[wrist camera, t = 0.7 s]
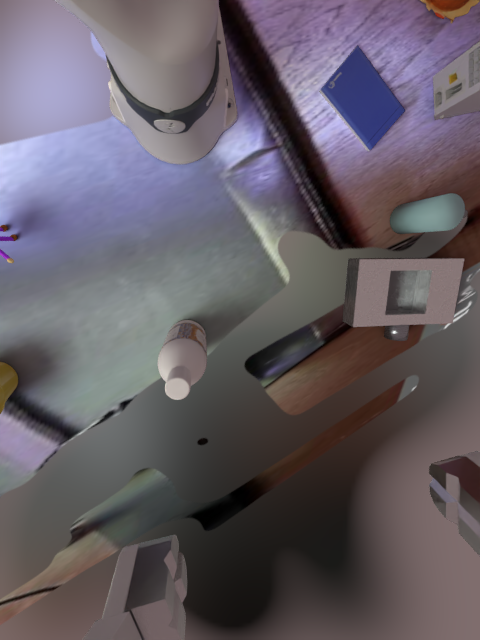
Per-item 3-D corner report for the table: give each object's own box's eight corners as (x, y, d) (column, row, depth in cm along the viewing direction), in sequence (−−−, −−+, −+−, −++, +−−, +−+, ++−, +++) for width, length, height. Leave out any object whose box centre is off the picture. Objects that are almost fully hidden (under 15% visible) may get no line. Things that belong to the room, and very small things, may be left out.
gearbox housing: (348, 258, 52) (360, 259, 48) (446, 257, 55) (465, 258, 50) (341, 336, 56) (352, 342, 52) (433, 332, 58) (450, 338, 54)
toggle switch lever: (391, 203, 51) (435, 192, 41) (426, 204, 52) (477, 193, 42) (388, 233, 52) (430, 230, 42) (421, 234, 53) (470, 230, 43)
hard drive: (321, 87, 44) (371, 149, 47) (358, 43, 43) (406, 109, 46) (317, 93, 45) (366, 152, 49) (353, 50, 45) (400, 113, 48)
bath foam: (212, 346, 53) (217, 401, 34) (178, 360, 53) (163, 424, 34) (196, 313, 51) (192, 351, 32) (161, 328, 51) (135, 376, 32)
